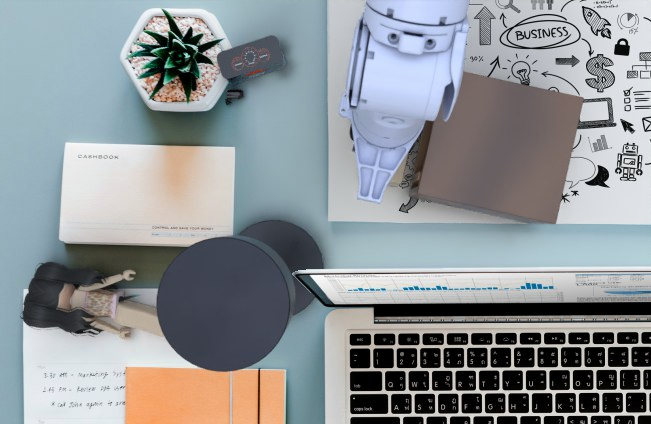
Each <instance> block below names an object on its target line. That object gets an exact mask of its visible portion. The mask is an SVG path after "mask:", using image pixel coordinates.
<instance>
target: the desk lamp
mask: <svg viewBox="0 0 651 424" xmlns="http://www.w3.org/2000/svg"><path fill="white" fill-rule="evenodd" d="M322 254H323V253H322V251H321V249H320V247H319V245H318V244H317V242H316V240H315V239H314V238H313V237H312V235H311V234H310V233H309V232H308V231H306V230H305V229H304V228H302V227H301V226H299V225H297V224H295V223H293V222H291V221H290V222H289V221H287V220H280V219H270V220H269V219H268V220H263V221H259V222H255V223H253V224H251V225H249V226H247V227H246V228H245V229H243V230H242V231H241V232H240V233H239V234H238V235H223V236H215V237H210V238H206V239H202V240H200V241H197V242H194V243H193V244H191V245H189V246H187V247H185V249H183V250H181V251H180V252H179V253H178V254H177V255H176V256H175V257H174V258H173V259H172V261H170V263H169V264H168V265H167V267H166V269H165V271H164V272H163V274H162V276H161V278H160V281H159V284H158V288H157V293H156V303H155V305H156V306H155V308H157V317H158V321H159V325H160V327H161V330H162V333H163V334H164V336H163V337H164V338H165V340H166V342H167V344H168V345H169V346H170V347H171V348H172V349H173V350H174V352H175V353H176V354H177V355H179V356H180V357H181V358H182V359H183V360H185V361H186V362H188V363H189V364H191V365H193V366H195V367H198V368H200V369H204V370H207V371H211V372H218V373H228V372H236V371H240V370H245V369H247V368H249V367H253V366H254V365H256V364H257V363H259V362H261V361H263V359H265V358H266V357H267V356H268V355H270V353H271V352H272V351H273V350H274V349H275V348H276V347H277V346H278V344H279V343H280V341H281V339H282V338H283V336H284V335H285V333H286V331H287V329H288V328H289V325H290V324H291V320H292V319H293V317H294V316H295V315H297V314H300V313H301V312H302V311H304V310H305V309H306V308H307V307H309V306H310V305H311V303H312V302H313V301H314V300H315V298H316V297H315V296H314V295H313V294H312V293H310V292H309V291H308V290H307V289H306V288H305V287H304V286H303V285H302V284H301V283H300V282H299V281H298V280H297V279H296V278H295V277H294V276H293V275H292V273H293V272H295V271H298V270H306V269H325V266H324V259H323V255H322Z"/></svg>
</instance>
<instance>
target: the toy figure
mask: <svg viewBox="0 0 651 424" xmlns="http://www.w3.org/2000/svg"><path fill="white" fill-rule="evenodd" d="M38 265H39V266H37V268H36V267H35V269H34V270H35V273H34V274H33V278H31V280H30V281H29V283H28V289H27V291H28V292H27V293H26V294H25V296H24V300H23V310H22V313H20V315H19V318H20V319H22V321H23V322H24V324H25V325H27V326H28V327H29V328H31V329H34V330H35V328H36V330H37V331H38V330H39V331H40V329H47V331H50V330H52V329H53V328H56V330H62V331H64V332H65V333H69V334H70V335H73V336H74V337H77V335H82V337H83V336H85V337H86V334H87V333H88V337H89V336H90V337H92V338H95V336H97V335H99V334H101V333H102V332H108V333H111V334H113V335H119V338H120V339H122V340H130V339H132V336H131V335H132V334H131V328H132V329H138V330H140V331H143V332H146V333H149V334H152V335H155V336H158V337H160V338H161V337H165V336H164V334H163V333H162V330H161V327H160V325H159V321H158V317H157V308H156V307H154V306H152V305H148V304H143V303H139V302H135V301H130V299H133V298H138V297H140V296H141V294H131V295H127V296H124V295H125V291H124V290H119V291H118V286H117V285H116V283H119V282H120V281H122V280H126V281H133V280H134V279H135V278H134V276H130V275H136V274H137V272H136V271H135V270H133V269H126V270H124V271H123V272H122V274H121V273H119V274H115V275H112V276H108V275H107V273H106V272H105V271H97V270H95V269H93V268H92V267H90V266H87V267H85V266H84V267H80V268H79V267H78V268H76V269H73V268H69V267H68V266H66V265H64V264H62V263H61V264H60V263H59V262H56V261H55V262H54V261H46V262H40V263H38ZM104 274H105V276H104ZM76 287H78V288H76ZM110 289H111V290H110ZM114 289H115V290H117V291H113V290H114ZM21 314H22V316H21ZM105 316H106V317H107V316H108V318H110V319H112V321H113V323H115V324H117V325H119V326H122V327H120V328H119V327H117V326H115V325H112V324H111V323H109V322H106V321H105V320H103V319H100V318H99V317H105ZM92 330H93V331H92Z"/></svg>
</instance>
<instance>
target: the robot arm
mask: <svg viewBox="0 0 651 424" xmlns="http://www.w3.org/2000/svg"><path fill="white" fill-rule="evenodd" d="M470 2H471V0H365V5H364V11H363V12H362V14H361V15H360V18H359V19H358V20H357V23H356V25H355V28H354V32H353V37H352V42H351V48H350V54H349V60H348V67H347V74H346V80H345V91H344V92H342V94H341V97H340V101H339V105H338V115H339V116H340V117H342V118H343V119H347V120H349V122H350V127H349V137H350V140H351V141H352V142H353V144H354V147H355V152H354V153H355V161H356V168H357V177H358V186H357V187H358V189H357V194H356V200H360V201H364V202H367V203H373V204H378V205H380V204H381V203H382V202H383V201H382V200H383V198H384V194H385V191H386V189H387V186H388V183H389V181H390V180H391V178H392V176H393V175H394V173H395V172H396V170H397V169H398V167H399V166H400V164H401V162H402V161H403V159H404V158H405V156H406V155H407V153H408V154H409V153H410V152H412V150H413V149H414V147H415V146H416V142H417V139H418V137H419V136H420V134H422V130H423V127H424V124H425V121H426V120H429V121H434V120H435V119H436V117H437V115H438V112H439V109H440V105H441V102H442V98H443V94H444V100H443V120H444V121H445V122H446V121H447V120H448V119H449V117H450V115H451V112H452V110H453V107H454V105H455V102H456V100H457V97H458V93H459V89H460V85H461V81H462V76H463V72H465V71H464V70H465V69H464V68H465V64H466V55H467V38H468V35H469V29H470V22H469V21H470V20H469V16H468V10H469V6H470ZM444 90H445V92H444Z"/></svg>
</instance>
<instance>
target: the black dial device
mask: <svg viewBox="0 0 651 424" xmlns="http://www.w3.org/2000/svg"><path fill="white" fill-rule="evenodd" d="M216 62H217V65H218V68H219V72H220V74H221V76H222V78H223V79H224V80H225V81H226V83H227V84H229V85H236V84H240V83H242V82H246V81H248V80H252V79H254V78H255V79H256V78H258V77H261V76H263V75H267V74H270V73H273V72H276V71H279V70H282V69H283V68H285V66H286V59H285V56H284V52H283V50H282V47H281V44H280V41H279V38H278V36H275V35H272V34H271V35H268V36H264V37H261V38H257V39H256V40H252V41H249V42H247V43H243V44H240V45H237V46H234V47H232V48H228V49H225V50H222V51H220V52H218V54H217V55H216ZM245 96H246V92H245V90H243V89H241V88H229V89H226V91H225V98H224V102H225V105H226V106H230V105H232V104H233V100H234V101H235V100H236V101H238V100H242V99H244V98H245Z"/></svg>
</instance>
